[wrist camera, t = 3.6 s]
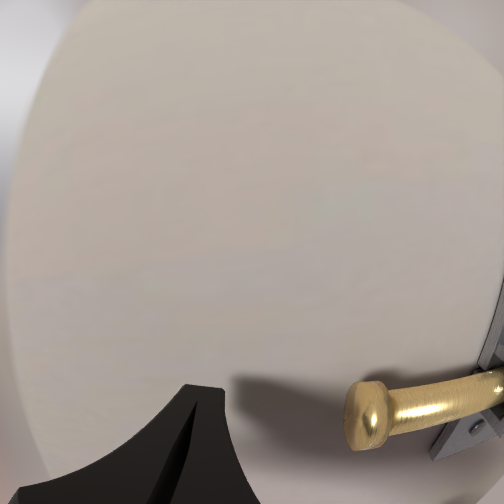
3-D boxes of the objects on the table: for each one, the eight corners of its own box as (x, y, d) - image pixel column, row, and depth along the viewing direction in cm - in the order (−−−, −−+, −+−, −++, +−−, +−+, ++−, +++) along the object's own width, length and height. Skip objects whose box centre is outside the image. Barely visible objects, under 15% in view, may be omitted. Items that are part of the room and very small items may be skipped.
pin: (528, 373, 10) (549, 393, 7) (339, 417, 10) (353, 464, 7) (543, 336, 9) (568, 354, 6) (355, 368, 9) (377, 415, 7)
